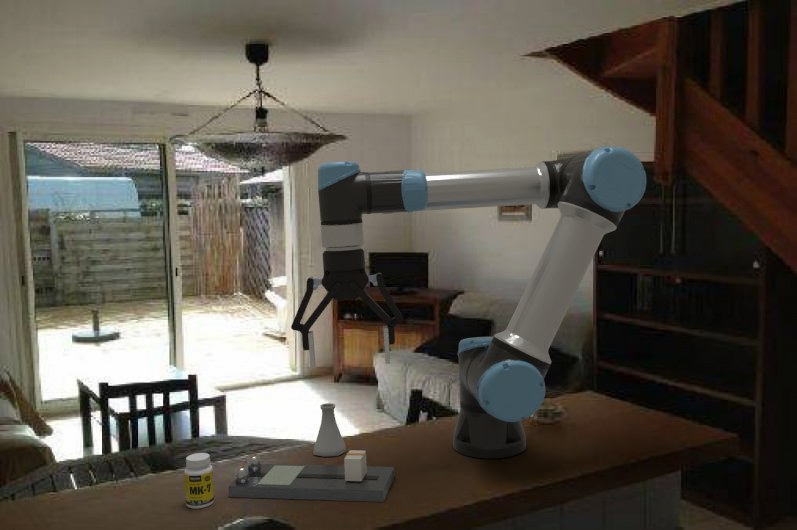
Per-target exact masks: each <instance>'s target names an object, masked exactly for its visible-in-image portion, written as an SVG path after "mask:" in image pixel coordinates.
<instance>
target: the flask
mask: <svg viewBox="0 0 797 530" xmlns="http://www.w3.org/2000/svg"><path fill="white" fill-rule="evenodd" d="M335 408H336V404H335V403H332V402H326V403H325V402H324V403H322V404H321V405H320V410H321V414H322V415H321V421H320V426H319V430H318V433H317V437H316V440H315V442H314V447H313V451H312V452H313V453H312V454H313V455H314V456H319V457H325V458H326V457H327V458H328V457H338V456H340V455H342V454H344V453H347V446H346V444H345V441H344V438H343V436H342V433H341V431H340V429H339V426H338V423H337V420H336V415H335Z"/></svg>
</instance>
